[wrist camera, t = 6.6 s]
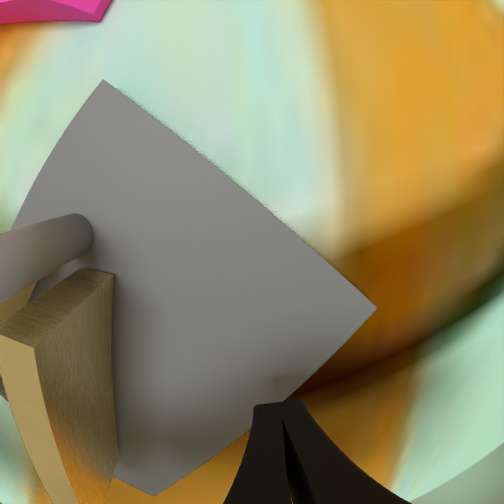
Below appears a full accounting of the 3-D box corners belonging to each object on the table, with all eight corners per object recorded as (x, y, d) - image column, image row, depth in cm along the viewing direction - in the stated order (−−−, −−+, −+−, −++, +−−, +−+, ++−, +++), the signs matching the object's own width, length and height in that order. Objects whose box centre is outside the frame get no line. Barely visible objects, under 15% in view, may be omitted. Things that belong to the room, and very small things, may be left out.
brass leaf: (81, 267, 9) (-9, 330, 4) (113, 274, 9) (33, 348, 5) (95, 448, 11) (66, 524, 6) (119, 454, 11) (94, 534, 6)
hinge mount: (156, 483, 13) (140, 574, 7) (-20, 355, 11) (-87, 419, 5) (366, 297, 11) (467, 397, 5) (113, 87, 9) (4, 11, 3)
